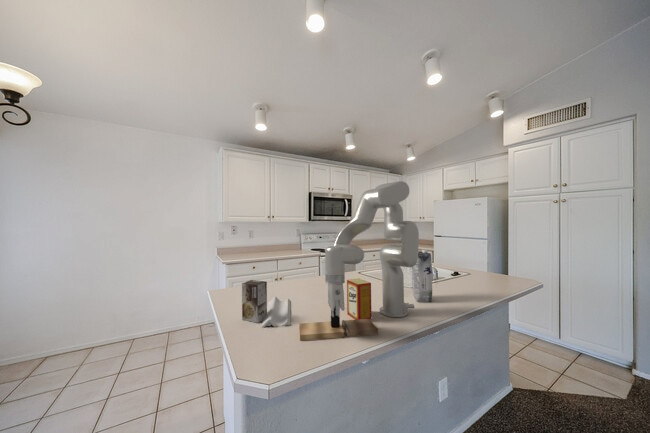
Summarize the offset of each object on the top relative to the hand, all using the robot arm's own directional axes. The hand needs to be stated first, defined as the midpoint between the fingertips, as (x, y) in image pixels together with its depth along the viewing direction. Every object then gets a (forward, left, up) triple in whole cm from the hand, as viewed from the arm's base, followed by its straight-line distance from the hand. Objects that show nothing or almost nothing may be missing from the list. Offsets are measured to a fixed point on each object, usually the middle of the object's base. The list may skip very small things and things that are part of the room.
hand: (335, 326), depth 92 cm
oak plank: (+6, 0, -2) cm, 6 cm away
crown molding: (+23, -24, -3) cm, 34 cm away
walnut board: (-9, 0, -2) cm, 10 cm away
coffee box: (+33, -18, -2) cm, 38 cm away
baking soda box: (-13, -13, -2) cm, 19 cm away
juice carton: (-53, -30, -2) cm, 61 cm away
